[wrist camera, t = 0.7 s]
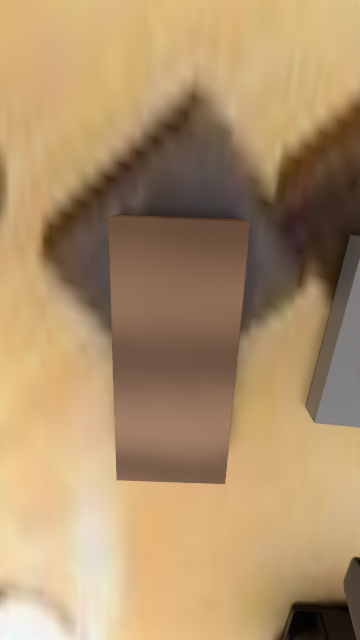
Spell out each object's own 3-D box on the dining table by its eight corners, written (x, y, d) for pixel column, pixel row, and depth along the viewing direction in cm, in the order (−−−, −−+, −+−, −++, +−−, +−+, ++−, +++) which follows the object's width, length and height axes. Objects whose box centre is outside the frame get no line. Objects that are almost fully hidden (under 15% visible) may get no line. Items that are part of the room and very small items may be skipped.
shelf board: (219, 447, 22) (224, 483, 19) (125, 443, 22) (116, 480, 19) (239, 218, 17) (250, 221, 14) (120, 214, 17) (107, 216, 14)
